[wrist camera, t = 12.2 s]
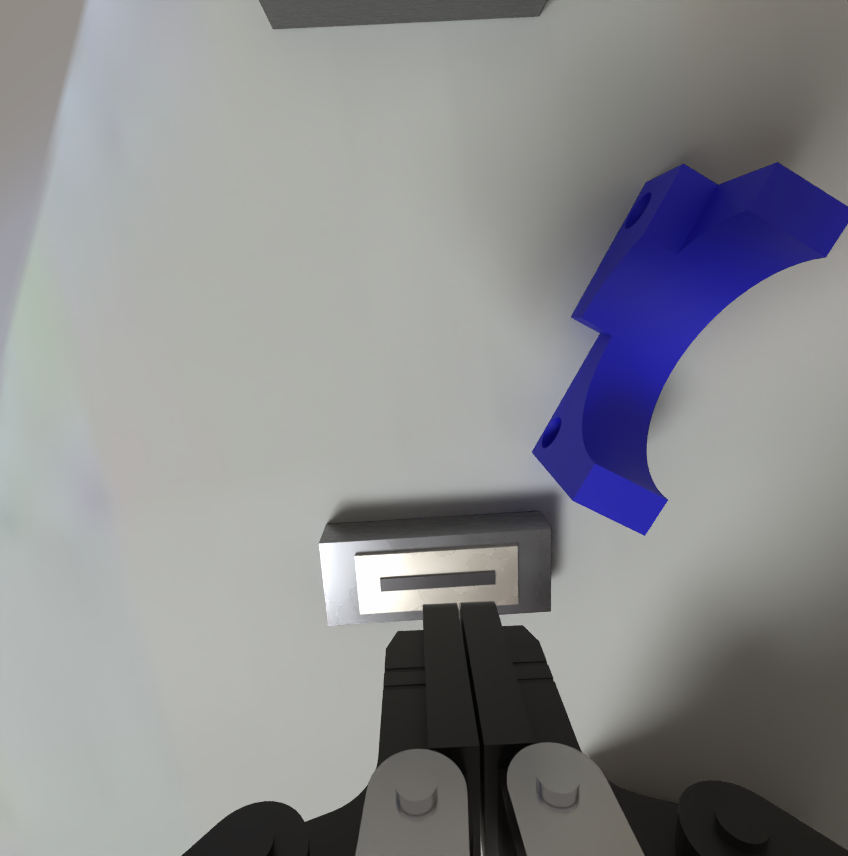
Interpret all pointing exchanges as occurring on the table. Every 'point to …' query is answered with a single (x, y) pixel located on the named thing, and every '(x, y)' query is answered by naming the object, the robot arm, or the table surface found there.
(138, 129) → the table surface
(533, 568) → the label stands
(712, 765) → the table surface
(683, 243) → the cable clip
